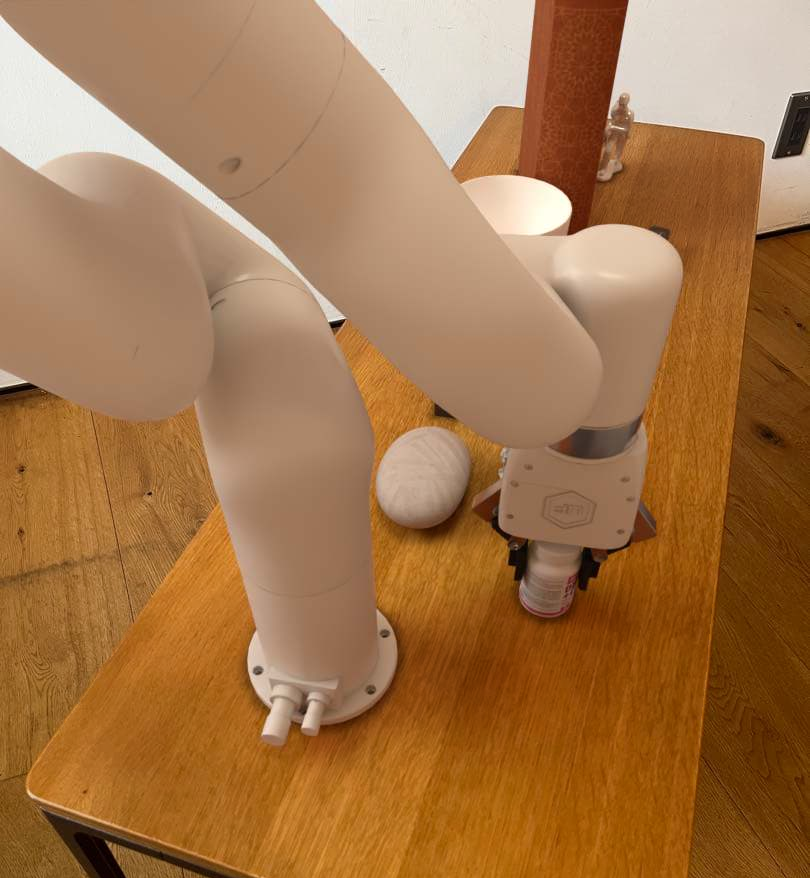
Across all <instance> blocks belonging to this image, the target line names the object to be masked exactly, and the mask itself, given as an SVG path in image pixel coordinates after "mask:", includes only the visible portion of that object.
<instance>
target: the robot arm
mask: <svg viewBox="0 0 810 878" xmlns="http://www.w3.org/2000/svg"><path fill="white" fill-rule="evenodd" d="M0 17H1V18H2V19H3V20H4V21H5V23H7V25H9V27H11V29H12V30H13V31H14V32H16V34H17V35H18V36H19V37H21V38H22V39H23V40H24V41H25V42H26V43H27V44H28V45H29V46H30V47H31V48H32V49H34V50H35V51H36V52H37V53H38V54H39V55H40V56H41V57H42V58H44V59H45V61H48V62H49V63H50V64H51V65H52V66H53V67H55V69H57V70H58V71H60V72H61V73H62V74H63V75H65V77H67V78H68V79H69V80H71V81H72V82H73V83H74V84H76V85H77V86H78V87H80V88H81V89H82V90H83V91H85V92H86V93H87V94H88V95H89V96H91V97H92V98H93V99H95V101H97V102H98V103H99V104H101V105H102V106H103V107H104V108H106V109H107V110H108V111H110V113H112V114H113V115H114V116H115V117H117V118H118V119H120V120H121V121H122V122H123V123H125V125H127V126H128V127H130V128H131V129H132V130H133V131H134V132H136V133H137V134H138V135H140V136H141V137H143V138H144V139H145V140H146V141H147V142H149V143H150V144H151V145H152V146H153V147H155V148H156V149H158V150H159V151H160V152H161V153H162V154H164V155H165V156H166V157H168V158H169V159H170V160H171V161H172V162H173V163H175V164H176V165H177V166H179V167H180V168H181V169H182V170H184V171H185V172H186V173H188V174H189V175H190V176H191V177H192V178H194V179H195V180H196V181H198V182H199V183H200V184H201V185H203V186H204V187H205V188H206V189H207V190H208V191H210V192H211V193H212V194H214V195H215V196H216V197H218V198H219V199H220V200H221V201H222V202H223V203H225V204H226V205H227V206H228V207H229V208H230V209H232V210H233V211H234V212H235V213H237V214H238V215H239V216H241V217H242V218H243V219H245V220H246V221H247V222H248V223H249V224H251V226H253V227H254V228H255V229H256V230H258V231H259V232H260V233H261V234H262V235H264V236H265V237H267V238H268V239H269V240H270V241H271V242H272V243H273V244H274V245H275V247H276V248H277V249H278V250H279V251H280V252H281V253H282V254H283V256H285V258H286V259H287V260H288V261H289V262H290V263H291V265H292V266H293V267H295V270H297V272H298V273H299V274H300V275H301V276H302V277H303V278H304V279H305V280H306V281H307V282H308V283H309V284H310V285H311V286H312V288H314V289H315V290H316V291H317V292H318V293H319V294H320V295H321V296H322V297H323V298H324V299H326V300H327V301H328V302H329V303H330V304H331V305H332V306H333V307H334V308H335V309H336V310H337V311H338V312H339V313H340V314H341V315H342V316H343V317H344V318H345V319H346V320H347V321H348V322H349V323H350V324H351V325H352V326H353V327H354V328H355V329H356V330H357V331H358V332H359V333H360V334H361V335H362V336H363V337H364V338H365V339H366V340H367V341H368V342H369V343H370V344H371V345H372V346H373V347H374V348H375V349H376V350H377V352H379V353H380V354H381V355H382V356H383V357H384V359H386V360H387V361H388V362H389V363H390V364H391V365H392V366H393V367H394V368H395V369H396V371H398V372H399V373H400V374H401V375H402V376H403V377H404V378H405V379H406V380H407V381H409V382H410V384H412V385H413V386H414V387H415V388H416V389H418V390H419V391H420V392H421V393H422V394H424V395H425V396H426V397H427V398H428V399H429V400H430V401H432V402H433V403H434V404H435V403H436V404H437V405H439V406H440V407H441V408H442V409H444V410H445V411H447V412H448V413H449V414H451V415H452V416H453V417H452V418H454V417H455V419H456V420H457V421H459V422H460V423H462V425H464V426H465V427H467V428H468V429H469V430H470V431H472V432H473V433H475V434H476V435H478V436H479V437H481V438H482V439H484V440H486V441H488V442H490V443H493V444H495V445H498V446H501V447H502V448H503V447H504V448H505V447H508V448H510V450H509V454H508V458H507V462H506V467H505V472H504V477H502V478H501V479H500V478H499V479H498V480H496V481H495V482H494V483H492V484H491V485H489V486H488V487H487V488H485V489H483V490H482V491H481V492H479V493H478V494H476V495H475V496H474V497H473V500H472V505H471V512H472V513H473V514H474V515H476V516H477V517H479V518H480V519H481V520H483V521H484V522H485V523H489V524H490V527H491V528H492V529H493V530H494V531H495V532H496V533H497V534H499V536H501V537H502V538H503V539H504V540H505V541H506V542H507V544H506V546H507V548H508V549H509V552H508V553H509V554H508V559H507V566H509V567H514V568H515V569H514V574H513V575H514V576H513V581H514V582H521V580H522V578H523V573H524V567H525V562H526V556H527V549H528V545H529V540H539V541H546V542H553V543H560V544H567V545H574V546H582V549H581V552H582V558H583V559H582V566H581V569H580V573H579V576H578V580H577V589H579V591H581V592H586V591H587V589H588V585H589V582H590V579H597V578H598V575H599V572H600V568H601V565H602V563H606V561H608V558H609V555H613V554H615V553H618V552H620V551H622V550H625V549H628V548H629V547H631V544H633V543H635V544H637V543H641V542H644V541H647V540H651V539H654V538H655V537H657V534H658V533H657V532H658V529H657V520H656V519H655V518H654V516H653V515H652V514H651V512H650V511H649V509H648V508H647V507H646V505H645V504H644V502H643V501H642V500H641V497H642V492H643V487H644V483H645V477H646V472H647V471H646V470H647V462H648V450H649V448H648V447H649V446H648V436H647V429H646V426H645V424H644V422H643V420H644V419H643V418H644V415H645V412H646V409H647V405H648V402H649V398H650V396H651V393H652V388H653V385H654V382H655V379H656V375H657V372H658V369H659V366H660V361H661V359H662V355H663V353H664V347H665V345H666V341H667V338H668V334H669V332H670V328H671V324H672V322H673V318H674V315H675V310H676V307H677V304H678V301H679V297H680V293H681V289H682V286H683V282H684V266H683V261H682V258H681V256H680V254H679V251H678V250H677V249H676V247H675V246H674V245H673V244H672V243H671V242H670V241H669V240H668V241H667V240H666V239H664V238H663V237H661V236H660V235H658V234H656V233H654V232H652V231H649V229H647V228H644V227H640V226H636V225H631V224H622V223H606V224H597V225H593V226H590V227H589V226H588V228H587V229H584V230H582V231H579V232H577V233H575V234H573V235H570V236H537V235H514V234H497V233H496V232H495V230H494V229H493V228H492V226H491V225H490V224H489V223H488V221H487V220H486V219H485V217H484V216H483V215H482V214H481V212H480V211H479V210H478V208H477V207H476V206H475V204H474V203H473V202H472V200H471V199H470V198H469V196H468V195H467V193H466V192H465V191H464V189H463V188H462V186H461V185H460V184H461V183H460V182H459V181H458V179H457V177H455V175H454V173H453V172H452V170H451V169H450V167H449V165H448V164H447V163H446V161H445V159H444V158H443V157H442V155H441V154H440V152H439V151H438V149H437V148H436V146H435V144H434V143H433V142H432V140H431V138H430V137H429V135H428V134H427V132H426V131H425V130H424V128H423V127H422V125H421V124H420V123H419V121H418V120H417V118H416V117H415V116H414V115H413V114H412V113H411V112H410V110H409V109H408V107H407V106H406V105H405V104H404V102H403V101H402V100H401V98H400V96H398V95H397V93H396V92H395V91H394V89H393V88H392V87H391V86H390V84H389V83H388V82H387V81H386V80H385V79H384V78H383V76H382V75H381V74H380V73H379V72H378V70H376V68H375V67H374V66H373V65H372V64H371V63H370V62H369V61H368V59H366V57H365V56H364V55H363V54H362V53H361V51H360V50H359V49H358V48H357V47H356V46H355V45H354V43H353V42H352V41H351V40H350V39H349V38H348V37H347V35H346V34H345V33H344V32H343V31H342V30H341V29H340V28H339V26H338V25H337V24H336V23H335V22H334V21H333V20H332V19H331V18H330V16H328V14H327V13H326V12H325V11H324V10H323V9H322V7H321V6H320V5H319V4H318V3H317V2H316V0H0ZM0 370H1V371H3V372H6V373H8V374H10V375H12V376H14V377H17V378H18V379H21V380H22V381H25V382H27V383H29V384H31V385H34V386H36V387H38V388H39V389H42V390H44V391H46V392H48V393H50V394H53V395H55V396H57V397H59V398H61V399H64V400H65V401H68V402H70V403H72V404H74V405H77V406H79V407H81V408H83V409H85V410H89V411H92V412H94V413H96V414H98V415H99V414H100V415H102V416H105V417H108V418H111V419H115V420H119V421H125V422H129V423H143V424H144V423H153V422H160V421H165V420H167V419H170V418H173V417H175V416H177V415H179V414H181V413H183V412H184V411H185V410H187V409H188V408H189V407H191V405H194V409H195V414H196V418H197V423H198V427H199V431H200V437H201V441H202V445H203V450H204V454H205V458H206V463H207V467H208V470H209V474H210V477H211V481H212V485H213V487H214V491H215V495H216V497H217V501H218V503H219V506H220V508H221V511H222V515H223V518H224V520H225V521H224V522H225V525H226V527H227V531H228V535H229V539H230V542H231V545H232V549H233V552H234V555H235V556H234V557H235V559H236V560H235V561H236V563H237V565H238V568H239V571H240V575H241V579H242V582H243V585H244V588H245V592H246V596H247V601H248V603H249V604H248V605H249V608H250V611H251V615H252V617H253V621H254V626H255V629H256V630H255V631H254V633H253V635H252V637H251V641H250V643H249V646H248V651H247V658H246V659H247V661H246V662H247V671H248V676H249V679H250V682H251V685H252V687H253V689H254V692H255V694H256V695H257V697H258V699H260V700H261V702H262V703H263V704H264V706H266V707H267V708H268V709H270V712H269V714H268V715H267V717H266V719H265V723H264V724H263V728H262V731H261V734H260V740H261V741H262V742H263V743H264V744H266V745H269V746H272V747H283V746H285V745H286V741H287V739H288V734H289V732H290V729H291V726H292V723H293V722H294V723H297V724H300V725H301V727H300V732H301V733H302V734H303V735H305V736H308V737H317V736H318V734H319V731H320V729H321V728H320V727H321V726H330V725H335V724H340V723H343V722H346V721H349V720H351V719H354V718H356V717H358V716H360V715H362V714H363V713H365V712H367V711H368V710H369V709H371V708H372V707H373V706H374V705H376V703H378V701H380V700H381V699H382V697H383V696H384V695H385V693H386V692H387V691H388V690H389V688H390V686H391V684H392V681H393V679H394V678H395V675H396V670H397V666H398V644H397V638H396V635H395V632H394V630H393V629H394V628H393V627H392V625H391V624H390V621H389V620H388V619H387V617H386V616H385V615H384V614H383V613H382V612H381V611H380V610H379V609H378V608H377V597H376V595H377V594H376V582H375V579H376V578H375V563H374V552H373V551H374V548H373V538H372V537H373V536H372V524H371V523H372V522H371V489H372V487H371V486H372V482H373V476H374V469H375V462H376V443H375V436H374V429H373V426H372V421H371V419H370V415H369V412H368V409H367V406H366V403H365V400H364V398H363V395H362V392H361V390H360V388H359V385H358V383H357V381H356V378H355V377H354V374H353V372H352V370H351V367H350V366H349V363H348V361H347V359H346V357H345V354H344V352H343V350H342V348H341V346H340V345H339V343H338V341H337V338H336V336H335V333H334V331H333V330H332V327H331V324H330V323H329V320H328V317H327V316H326V314H325V312H324V310H323V307H322V306H321V304H320V302H319V301H318V299H317V297H316V296H315V294H314V292H313V291H312V289H311V288H310V287H309V286H308V285H307V283H306V282H304V281H303V279H302V278H301V277H299V275H297V274H296V273H295V272H294V271H293V270H292V269H290V268H289V267H288V266H287V265H286V264H285V263H283V262H282V261H281V260H280V259H278V258H277V257H275V256H274V255H273V254H272V253H270V252H269V251H267V250H266V249H265V248H263V247H262V246H260V245H259V244H258V243H256V242H255V241H254V240H252V239H251V238H250V237H249V236H247V235H245V233H243V232H242V231H241V230H239V229H237V228H236V227H234V226H233V225H232V224H231V223H229V221H227V220H225V219H224V218H222V216H220V215H218V214H217V213H216V212H214V211H213V210H212V209H210V207H208V206H206V205H205V203H202V202H201V201H200V200H199V199H197V198H195V197H194V196H193V195H192V194H190V193H189V192H187V191H186V190H185V189H183V188H182V187H181V186H179V185H178V184H177V183H175V182H174V181H173V180H171V179H169V178H168V177H166V176H165V175H163V174H162V173H160V172H158V171H157V170H155V169H153V168H152V167H149V166H147V165H145V164H143V163H141V162H138V161H137V160H133V159H131V158H128V157H126V156H121V155H119V154H115V153H109V152H104V151H103V152H101V151H78V152H77V151H76V152H71V153H67V154H64V155H63V154H62V155H60V156H57V157H55V158H52V159H50V160H48V161H46V162H45V163H43V164H42V165H40V166H39V167H38V168H36V169H34V168H32V167H30V166H29V165H27V164H26V163H24V162H23V161H21V160H20V159H18V157H16V156H15V155H13V154H12V153H11V152H9V151H8V150H7V149H5V148H4V147H2V146H1V145H0Z"/></svg>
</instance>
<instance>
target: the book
mask: <svg viewBox="0 0 810 878" xmlns="http://www.w3.org/2000/svg"><path fill="white" fill-rule="evenodd" d="M629 2H630V0H535V1H534V10H533V21H532V30H531V39H530V49H529V60H528V70H527V77H526V78H527V80H526V89H525V90H526V91H525V98H524V108H523V118H522V128H521V138H520V147H519V155H518V157H519V158H518V167H517V176H523V177H528V178H533V179H537V180H540V181H543V182H546V183H548V184H550V185H553V186H554V187H556V188H558V189H559V190H561V191H562V192H563V193H564V194H565V195H566V196H567V197H568V199H569V200H570V202H571V206H572V214H571V219H570V223H569V227H568V232H567V236H570V235H573V234H575V233H577V232H579V231H582V230H584V229H587V228H589V224H590V218H591V213H592V207H593V203H594V195H595V190H596V184H597V174H598V171H599V168H600V163H601V159H602V158H601V156H602V151H603V148H602V146H603V141H604V135H605V130H606V126H607V125H608V118H609V113H610V106H611V102H612V97H613V90H614V85H615V80H616V74H617V69H618V63H619V57H620V53H621V47H622V40H623V35H624V29H625V25H626V24H625V23H626V18H627V13H628V7H629Z"/></svg>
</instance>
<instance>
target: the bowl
mask: <svg viewBox="0 0 810 878" xmlns="http://www.w3.org/2000/svg"><path fill="white" fill-rule="evenodd" d="M459 184H460V185H461V186H462V188H463V189H464V191H465V192H466V193H467V195H468V196H469V198H470V199H471V200H472V202H473V203H474V204H475V206H476V207H477V208H478V210H479V211H480V212H481V214H482V215H483V216H484V217H485V219H486V220H487V221H488V223H489V224H490V225H491V226H492V228H493V229H494V230H495V232H496V233H497V234H514V235H537V236H567V232H568V227H569V223H570V219H571V214H572V206H571V202H570V200H569V199H568V197H567V196H566V195H565V194H564V193H563V192H562V191H561V190H559V189H558V188H556V187H554V186H553V185H550V184H548V183H546V182H543V181H540V180H537V179H533V178H528V177H523V176H518V175H514V174H513V175H512V174H495V175H487V176H485V175H484V176H480V177H475V178H472V179H468V180H466V181H464V182H462V183H459Z"/></svg>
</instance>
